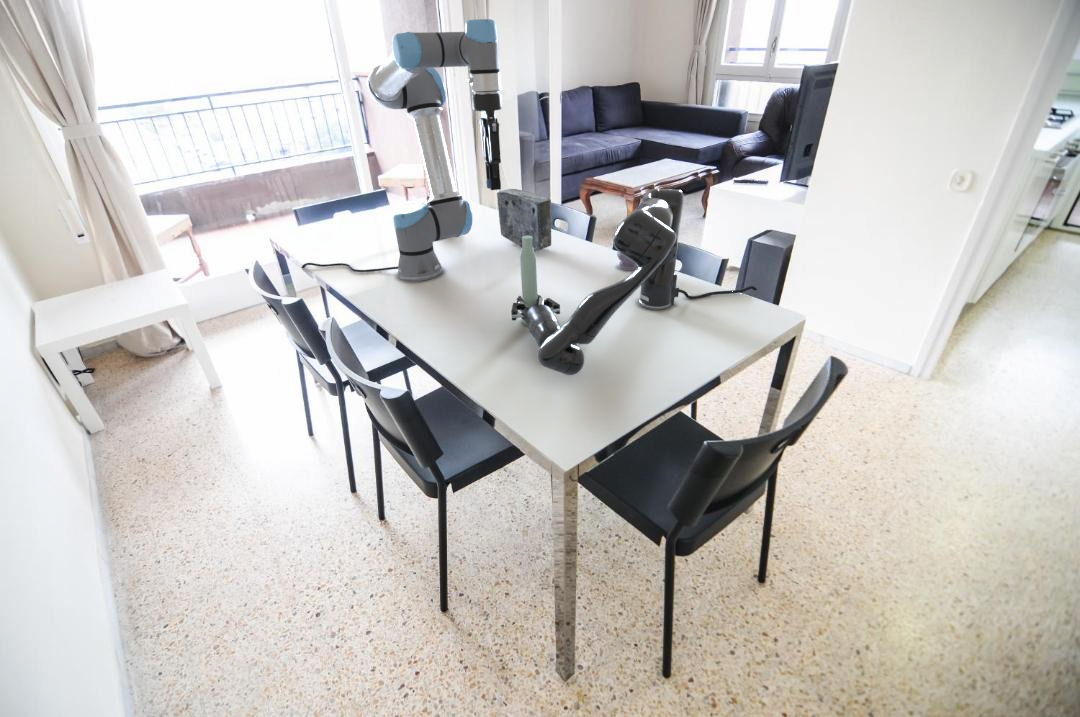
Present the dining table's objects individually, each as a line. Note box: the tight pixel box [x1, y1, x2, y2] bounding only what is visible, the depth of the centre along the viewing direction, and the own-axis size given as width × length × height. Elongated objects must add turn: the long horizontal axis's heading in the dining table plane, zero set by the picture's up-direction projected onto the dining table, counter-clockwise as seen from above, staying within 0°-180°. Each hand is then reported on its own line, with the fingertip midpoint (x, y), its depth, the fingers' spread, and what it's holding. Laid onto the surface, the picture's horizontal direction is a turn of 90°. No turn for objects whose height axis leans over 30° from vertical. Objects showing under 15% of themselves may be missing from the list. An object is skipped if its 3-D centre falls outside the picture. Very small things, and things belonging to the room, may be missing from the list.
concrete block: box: [496, 188, 552, 251], centre depth 192 cm, size 27×9×20 cm, turn 36°
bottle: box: [519, 236, 538, 326], centre depth 135 cm, size 4×4×25 cm
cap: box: [486, 178, 502, 190], centre depth 138 cm, size 4×4×2 cm
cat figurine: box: [616, 250, 638, 271], centre depth 171 cm, size 9×8×12 cm
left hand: (494, 187), depth 138 cm, fingers closed on cap, 4 cm apart
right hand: (527, 298), depth 141 cm, fingers closed on bottle, 4 cm apart
